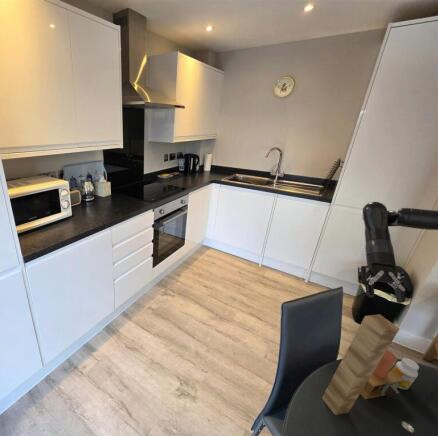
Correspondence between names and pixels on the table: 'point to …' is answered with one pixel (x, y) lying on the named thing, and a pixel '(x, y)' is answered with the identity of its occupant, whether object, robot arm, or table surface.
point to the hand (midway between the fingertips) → (385, 299)
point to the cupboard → (379, 384)
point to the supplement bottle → (406, 372)
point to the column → (359, 362)
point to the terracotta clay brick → (385, 364)
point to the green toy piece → (390, 390)
